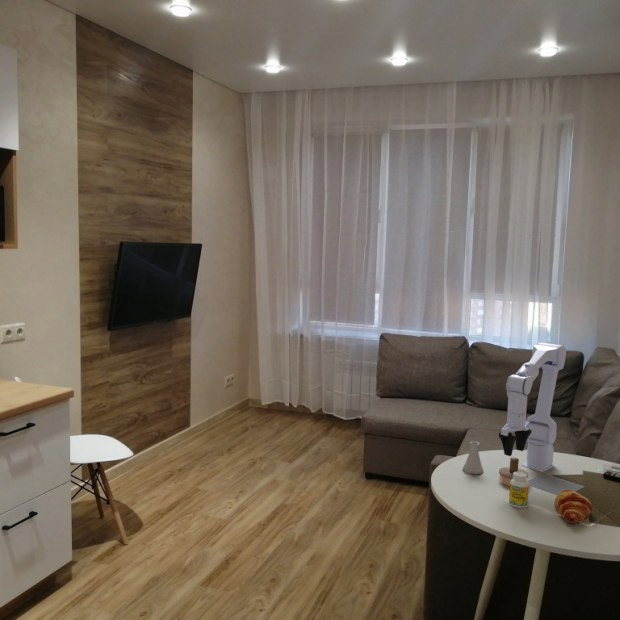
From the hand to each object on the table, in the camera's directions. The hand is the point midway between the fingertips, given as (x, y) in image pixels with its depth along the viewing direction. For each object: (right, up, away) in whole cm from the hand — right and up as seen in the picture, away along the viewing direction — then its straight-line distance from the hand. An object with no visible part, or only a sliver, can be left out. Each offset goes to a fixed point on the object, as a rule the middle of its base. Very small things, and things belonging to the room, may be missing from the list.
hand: (513, 452), depth 199 cm
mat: (+13, -11, 0) cm, 17 cm away
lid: (0, -7, +1) cm, 7 cm away
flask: (-11, -9, +11) cm, 18 cm away
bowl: (0, -10, +1) cm, 10 cm away
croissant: (+11, -13, -20) cm, 26 cm away
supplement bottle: (-4, -12, -16) cm, 20 cm away
